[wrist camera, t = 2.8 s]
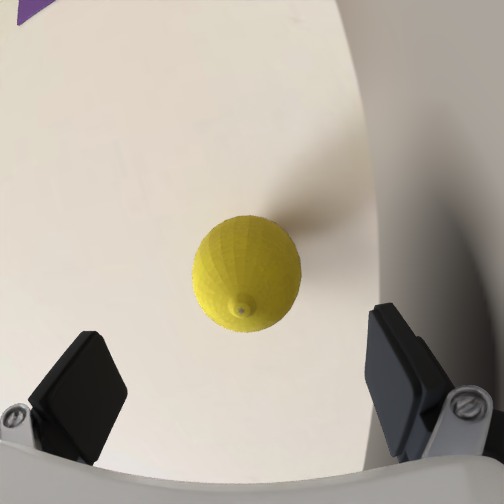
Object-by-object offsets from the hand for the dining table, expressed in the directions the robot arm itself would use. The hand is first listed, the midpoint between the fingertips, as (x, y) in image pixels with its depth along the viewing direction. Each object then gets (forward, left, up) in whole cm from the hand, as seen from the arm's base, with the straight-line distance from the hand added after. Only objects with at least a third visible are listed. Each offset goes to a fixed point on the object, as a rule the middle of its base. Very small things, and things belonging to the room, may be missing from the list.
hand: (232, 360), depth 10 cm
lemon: (0, 0, -11) cm, 11 cm away
